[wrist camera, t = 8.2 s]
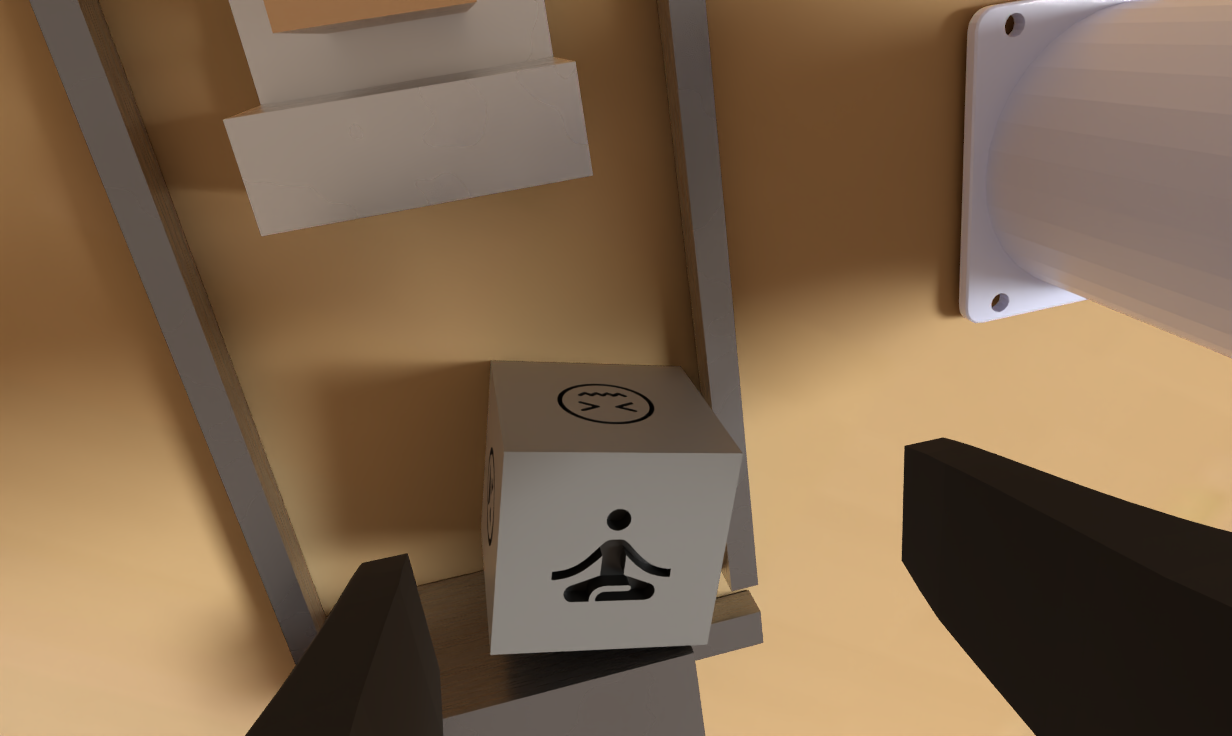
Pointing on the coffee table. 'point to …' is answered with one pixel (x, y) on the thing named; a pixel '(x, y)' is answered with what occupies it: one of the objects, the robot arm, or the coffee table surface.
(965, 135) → the robot arm
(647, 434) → the grey marked cube
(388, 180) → the l-shaped block holder
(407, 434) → the coffee table surface
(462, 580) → the grey rail frame
